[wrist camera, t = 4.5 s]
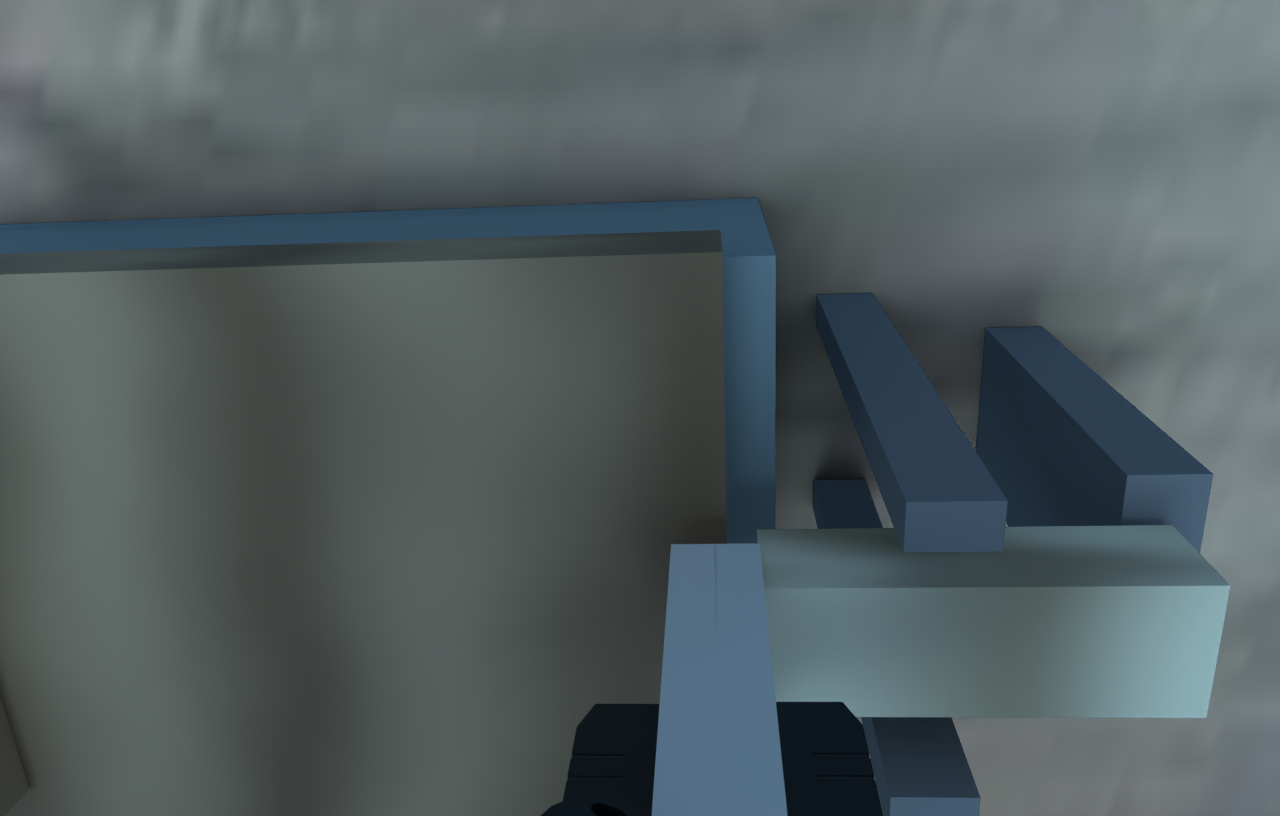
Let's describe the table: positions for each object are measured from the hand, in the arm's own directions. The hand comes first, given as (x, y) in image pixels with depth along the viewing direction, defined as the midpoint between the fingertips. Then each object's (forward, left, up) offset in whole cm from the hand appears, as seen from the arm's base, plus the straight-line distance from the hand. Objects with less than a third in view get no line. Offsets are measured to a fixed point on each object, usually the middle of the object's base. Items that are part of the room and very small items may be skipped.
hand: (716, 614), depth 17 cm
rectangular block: (+4, 0, -1) cm, 4 cm away
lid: (-9, 0, -3) cm, 9 cm away
